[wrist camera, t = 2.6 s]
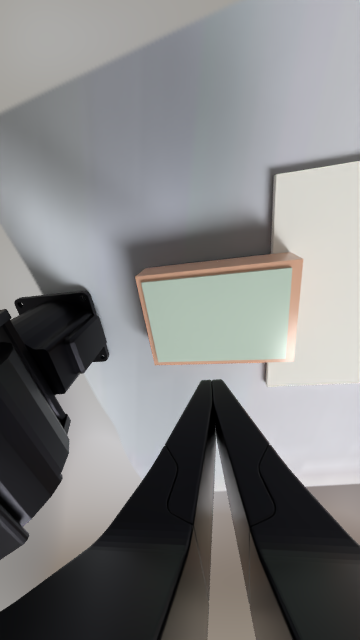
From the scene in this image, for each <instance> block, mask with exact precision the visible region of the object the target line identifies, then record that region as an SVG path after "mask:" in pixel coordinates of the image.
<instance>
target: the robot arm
mask: <svg viewBox="0 0 360 640" xmlns="http://www.w3.org/2000/svg"><path fill="white" fill-rule="evenodd" d="M82 296H84V297H85V298H86V300H84V299H83V298H82ZM21 303H22V304H23V305H22V304H21ZM15 306H16V308H17V311H18V313H19V316H18V317H16V318H13V319H12V320H10V319H11V316H10V314H9V313H8V311H7V310H6V309H4V310H0V560H1V559H2V558H4V557H5V556H7V555H8V554H10V553H11V552H13V551H14V550H16V549H17V548H19V547H20V546H22V545H23V544H24V543H25V542H26V541H27V539H28V537H29V533H28V532H27V531H26V530H25V529H24V528H23V526H24V525H25V524H26V523H28V522H29V521H30V520H31V519H32V518H33V517H34V516H35V514H36V513H37V512H38V511H39V510H40V509H41V508H42V506H43V505H44V504H45V503H46V502H47V501H48V499H49V498H50V497H51V496H52V494H53V493H54V492H55V490H56V489H57V487H58V485H59V484H60V482H61V480H62V474H61V472H62V470H63V467H64V464H65V462H66V459H67V456H68V454H69V438H68V436H67V433H68V429H69V426H70V421H71V420H70V418H69V417H68V415H67V414H65V413H64V411H63V409H62V408H61V406H60V404H59V403H58V401H57V399H56V397H55V395H56V394H64V393H65V392H66V391H67V390H68V388H69V387H70V386H71V384H72V383H73V382H74V381H75V379H76V378H77V377H78V375H79V374H81V373H84V372H85V371H86V370H87V368H88V367H89V366H90V364H91V363H92V362H103V361H106V360H107V359H108V357H109V352H108V349H107V346H106V343H107V341H106V338H105V335H104V332H103V328H102V325H101V322H100V319H99V317H98V316H97V314H96V311H95V308H94V304H93V301H92V298H91V295H90V294H89V293H88V292H86V291H78V292H69V293H59V294H50V295H41V296H32V297H22V298H19V299H17V300H15ZM101 354H102V355H104V356H105V357H104V356H102V355H101ZM215 428H216V429H215ZM216 437H217V443H218V449H219V454H220V459H221V464H222V469H223V474H224V479H225V484H226V489H227V494H228V499H229V504H230V509H231V515H232V520H233V525H234V529H235V535H236V539H237V545H238V550H239V554H240V560H241V565H242V570H243V575H244V580H245V586H246V590H247V596H248V600H249V604H250V611H251V616H252V621H253V626H254V631H255V636H256V640H360V545H359V544H358V543H357V542H356V541H355V540H353V538H352V537H351V536H350V535H349V534H348V533H347V532H346V531H345V530H344V529H343V528H342V527H341V526H340V525H339V523H338V522H337V521H336V520H335V519H334V518H333V517H332V516H331V515H330V514H329V513H328V511H327V510H326V509H325V508H324V507H323V506H322V505H321V504H320V503H319V502H318V500H317V499H316V498H315V497H314V496H313V495H312V494H311V493H310V492H309V491H308V490H307V488H306V487H305V486H304V485H303V484H302V483H301V482H300V481H299V479H298V478H297V477H296V476H295V475H294V474H293V473H292V471H291V470H290V469H289V468H288V467H287V465H286V464H285V463H284V462H283V460H282V459H281V458H280V456H279V455H278V454H277V453H276V451H275V450H274V448H273V447H272V446H271V445H269V442H268V441H267V439H266V438H265V437H264V435H263V434H262V433H261V431H260V430H259V429H258V427H257V426H256V425H255V423H254V422H253V420H252V419H251V418H250V416H249V415H248V414H247V412H246V411H245V410H244V408H243V407H242V406H241V404H240V403H239V402H238V400H237V399H236V398H235V396H234V395H233V394H232V392H231V391H230V390H229V388H228V387H227V386H226V384H225V383H224V382H223V380H221V379H219V380H212V381H211V380H202V381H201V382H200V384H199V385H198V387H197V389H196V391H195V393H194V394H193V396H192V398H191V400H190V401H189V403H188V405H187V407H186V408H185V410H184V412H183V414H182V415H181V417H180V419H179V421H178V422H177V424H176V426H175V428H174V430H173V431H172V433H171V435H170V437H169V438H168V440H167V442H166V444H165V446H164V447H163V449H162V450H161V452H160V454H159V456H158V457H157V459H156V461H155V462H154V464H153V466H152V467H151V469H150V470H149V472H148V473H147V475H146V476H145V478H144V479H143V480H142V482H141V483H140V485H139V486H138V488H137V489H136V490H135V492H134V493H133V494H132V496H131V497H130V499H129V500H128V501H127V503H126V504H125V505H124V507H123V508H122V510H121V511H120V512H119V514H118V515H117V516H116V518H115V519H114V521H113V522H112V523H111V525H110V526H109V527H108V529H107V530H106V531H105V532H104V533H103V534H102V536H101V537H100V538H99V539H98V540H97V541H96V542H95V543H94V544H92V545H91V546H90V547H89V548H88V549H87V550H85V551H84V552H82V553H81V554H80V555H78V556H77V557H76V558H74V559H73V560H72V561H70V562H69V563H67V564H66V565H65V566H63V567H62V568H61V569H59V570H58V571H57V572H55V573H54V574H52V576H50V577H48V578H47V579H46V580H44V581H43V582H42V583H40V584H39V585H38V586H36V587H35V588H33V589H32V590H31V591H29V592H28V593H27V594H25V595H24V596H23V597H21V598H20V599H19V600H17V601H16V602H14V603H13V604H11V605H10V606H8V607H7V608H5V609H4V610H2V611H0V640H207V637H208V614H209V590H210V567H211V543H212V520H213V499H214V476H215V453H216Z"/></svg>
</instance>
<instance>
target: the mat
mask: <svg viewBox="0 0 360 640" xmlns="http://www.w3.org/2000/svg"><path fill="white" fill-rule="evenodd" d="M284 252H291V253H293V254H295V255H297V256H299V257H301V258H303V269H302V279H301V290H300V301H299V312H298V322H297V333H296V344H295V355H294V362H266V385H267V387H275V386H302V385H329V384H355V383H360V161H356V162H350V163H344V164H337V165H331V166H325V167H319V168H313V169H307V170H301V171H294V172H288V173H282V174H276V175H274V182H273V208H272V234H271V254H275V253H284Z"/></svg>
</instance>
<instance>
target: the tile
mask: <svg viewBox="0 0 360 640" xmlns="http://www.w3.org/2000/svg"><path fill="white" fill-rule="evenodd" d="M302 269H303V258H301V257H299V256H297V255H295V254H293V253H291V252H284V253H275V254H267V255H258V256H249V257H240V258H231V259H222V260H213V261H204V262H195V263H187V264H178V265H169V266H160V267H151V268H145V269H144V270H143V271H142V272H140V273H139V274H138V275H136V276H135V279H136V284H137V288H138V292H139V297H140V301H141V306H142V310H143V315H144V319H145V323H146V328H147V332H148V337H149V341H150V346H151V350H152V354H153V359H154V363H155V365H183V364H224V363H265V362H294V355H295V344H296V333H297V322H298V312H299V301H300V290H301V279H302Z"/></svg>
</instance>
